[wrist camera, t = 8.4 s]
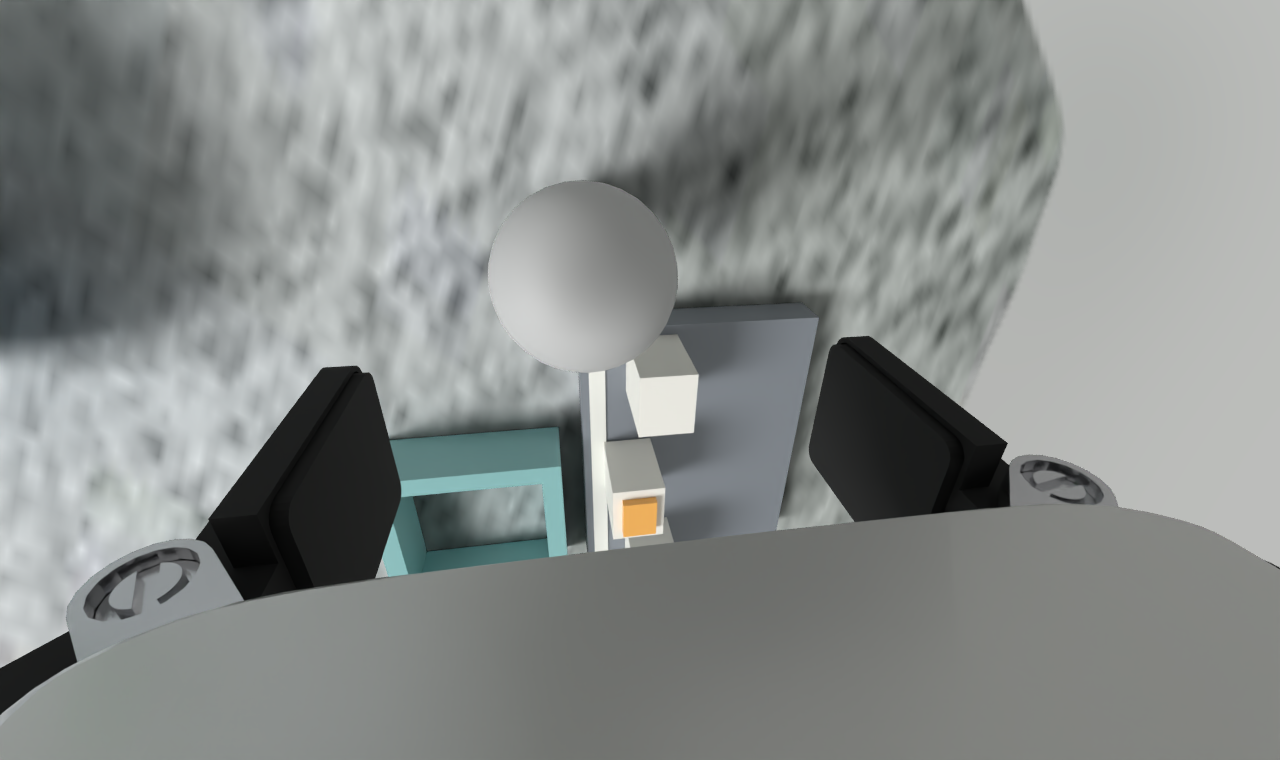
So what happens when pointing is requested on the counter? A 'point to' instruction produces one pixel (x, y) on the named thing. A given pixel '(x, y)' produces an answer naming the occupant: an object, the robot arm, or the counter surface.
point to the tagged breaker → (633, 488)
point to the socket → (475, 468)
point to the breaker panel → (704, 419)
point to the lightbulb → (583, 276)
